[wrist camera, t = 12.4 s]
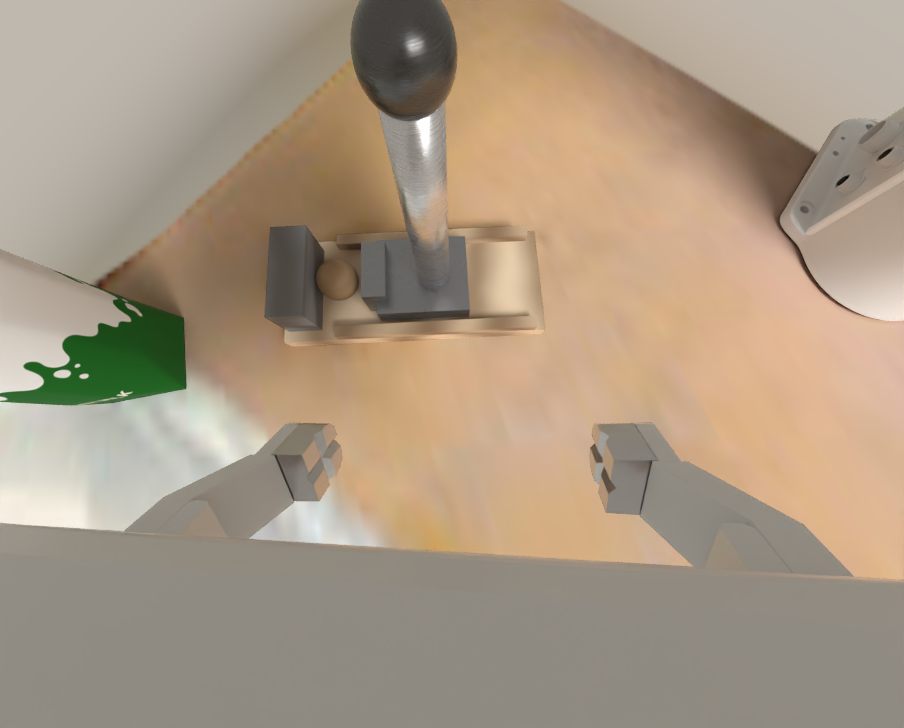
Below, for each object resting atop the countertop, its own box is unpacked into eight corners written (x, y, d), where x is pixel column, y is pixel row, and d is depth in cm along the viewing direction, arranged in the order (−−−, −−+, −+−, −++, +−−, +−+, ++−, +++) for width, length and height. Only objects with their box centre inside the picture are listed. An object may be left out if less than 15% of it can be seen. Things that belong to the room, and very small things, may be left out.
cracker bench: (530, 239, 33) (546, 203, 27) (541, 333, 31) (559, 314, 26) (296, 251, 33) (265, 217, 27) (291, 346, 31) (257, 329, 25)
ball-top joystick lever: (464, 246, 31) (485, -99, 10) (469, 316, 29) (503, 73, 9) (370, 251, 31) (210, -87, 10) (370, 321, 29) (187, 88, 9)
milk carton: (193, 307, 32) (-235, 113, 12) (197, 398, 30) (-295, 343, 10) (102, 324, 31) (-489, 153, 12) (101, 416, 30) (-593, 397, 10)
